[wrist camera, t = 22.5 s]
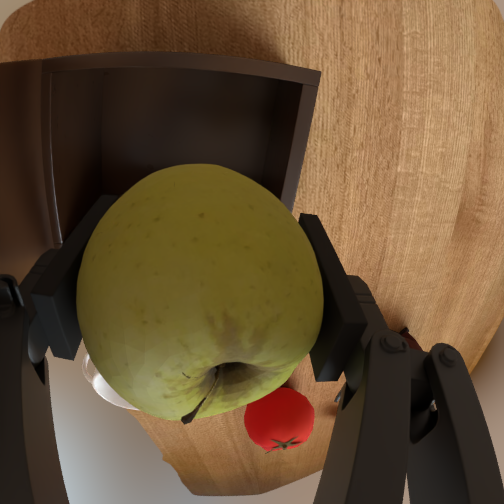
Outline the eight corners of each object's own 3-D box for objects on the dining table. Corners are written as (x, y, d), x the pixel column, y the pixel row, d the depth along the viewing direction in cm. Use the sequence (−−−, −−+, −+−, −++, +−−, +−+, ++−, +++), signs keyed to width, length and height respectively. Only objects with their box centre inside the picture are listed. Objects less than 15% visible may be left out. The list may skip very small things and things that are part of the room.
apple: (63, 246, 13) (-18, 418, 4) (191, 119, 13) (288, 105, 4) (180, 345, 17) (227, 516, 8) (294, 244, 16) (435, 367, 8)
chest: (290, 68, 26) (321, 71, 17) (264, 211, 34) (277, 275, 25) (99, 56, 24) (40, 59, 15) (97, 197, 32) (53, 253, 23)
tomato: (230, 401, 54) (232, 456, 44) (264, 367, 48) (271, 430, 39) (285, 413, 57) (292, 463, 48) (323, 383, 52) (336, 438, 43)
